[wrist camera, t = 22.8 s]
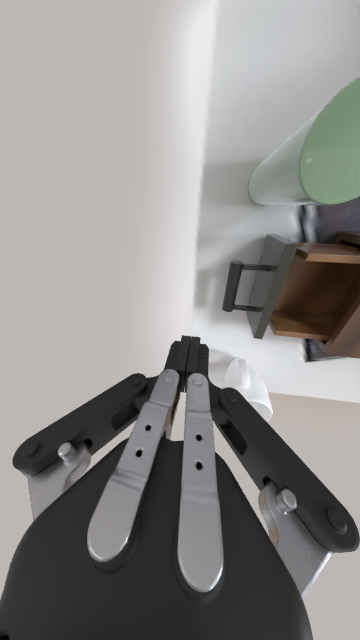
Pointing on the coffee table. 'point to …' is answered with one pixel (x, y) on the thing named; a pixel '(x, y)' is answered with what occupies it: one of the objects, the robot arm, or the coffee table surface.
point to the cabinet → (345, 317)
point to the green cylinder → (315, 158)
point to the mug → (248, 386)
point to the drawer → (298, 288)
